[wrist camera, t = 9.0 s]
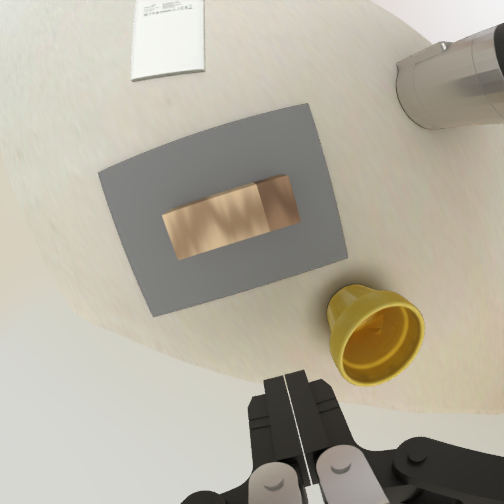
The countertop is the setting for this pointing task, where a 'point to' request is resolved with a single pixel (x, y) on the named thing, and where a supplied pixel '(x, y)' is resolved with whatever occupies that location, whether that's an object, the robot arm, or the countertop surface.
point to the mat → (215, 181)
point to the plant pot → (373, 334)
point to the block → (231, 216)
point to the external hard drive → (167, 38)
